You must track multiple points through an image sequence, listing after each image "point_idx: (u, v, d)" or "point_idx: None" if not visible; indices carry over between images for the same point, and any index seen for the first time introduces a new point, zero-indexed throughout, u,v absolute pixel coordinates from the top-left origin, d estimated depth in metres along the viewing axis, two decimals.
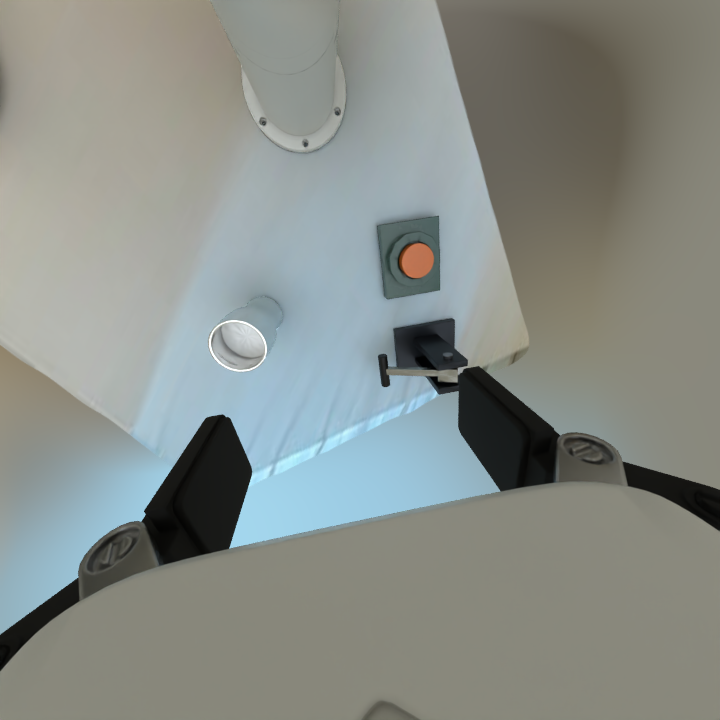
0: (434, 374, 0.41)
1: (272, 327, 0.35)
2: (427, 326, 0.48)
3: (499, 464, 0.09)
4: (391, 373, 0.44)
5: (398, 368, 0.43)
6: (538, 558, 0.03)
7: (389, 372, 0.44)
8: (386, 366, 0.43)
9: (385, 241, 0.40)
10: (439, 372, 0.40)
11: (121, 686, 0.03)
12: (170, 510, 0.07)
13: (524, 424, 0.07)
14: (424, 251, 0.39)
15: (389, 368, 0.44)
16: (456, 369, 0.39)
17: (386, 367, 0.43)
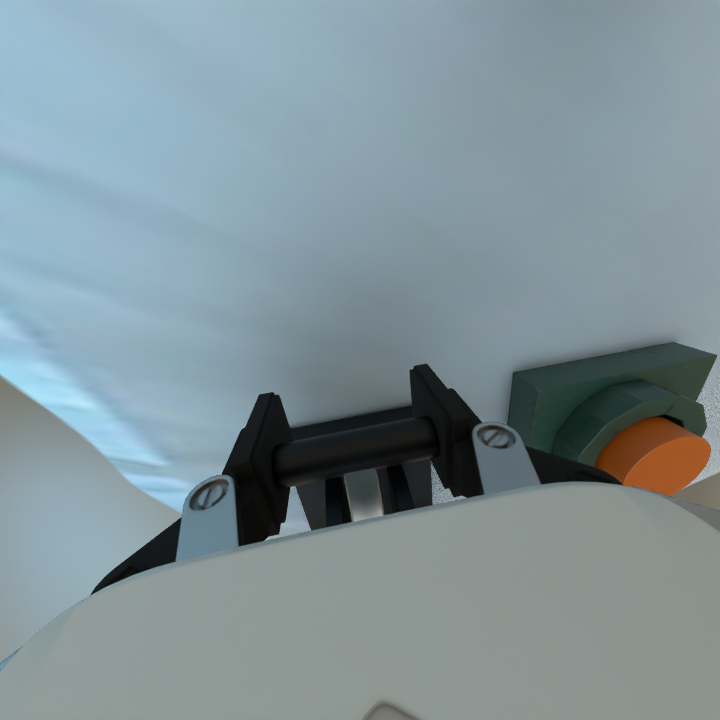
0: None
1: None
2: (427, 484, 0.19)
3: None
4: (357, 495, 0.09)
5: None
6: (538, 558, 0.03)
7: (361, 485, 0.09)
8: (388, 465, 0.09)
9: (677, 372, 0.16)
10: None
11: (121, 686, 0.03)
12: (250, 466, 0.08)
13: (448, 414, 0.08)
14: (680, 481, 0.15)
15: None
16: None
17: (383, 466, 0.09)
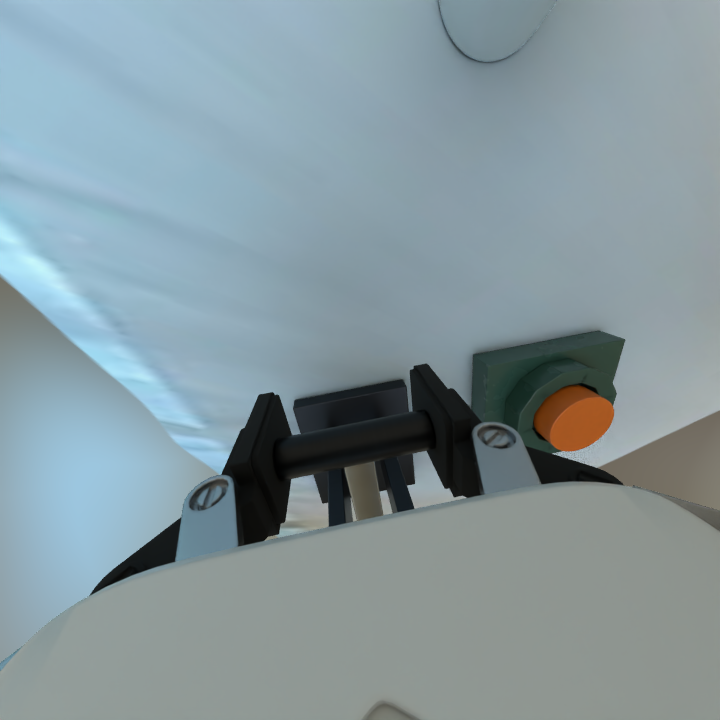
0: None
1: None
2: None
3: (436, 452, 0.09)
4: (356, 480, 0.10)
5: None
6: (538, 558, 0.03)
7: (360, 474, 0.10)
8: None
9: (595, 352, 0.21)
10: None
11: (121, 686, 0.03)
12: (249, 466, 0.08)
13: (448, 414, 0.08)
14: (594, 433, 0.20)
15: None
16: None
17: None
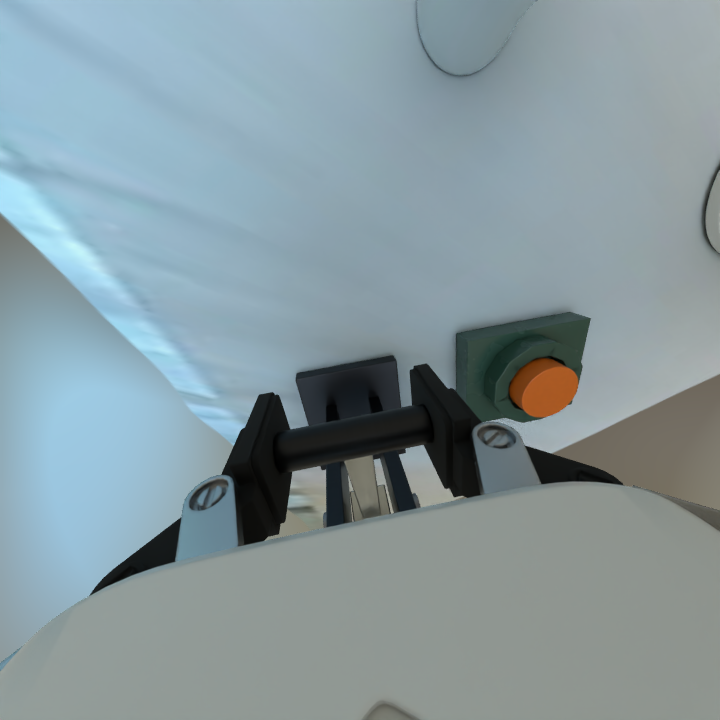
0: (368, 515, 0.15)
1: None
2: None
3: (436, 452, 0.09)
4: (354, 466, 0.10)
5: None
6: (538, 558, 0.03)
7: (358, 462, 0.10)
8: None
9: (564, 329, 0.23)
10: None
11: (121, 686, 0.03)
12: (249, 466, 0.08)
13: (448, 414, 0.08)
14: (562, 400, 0.22)
15: None
16: None
17: None
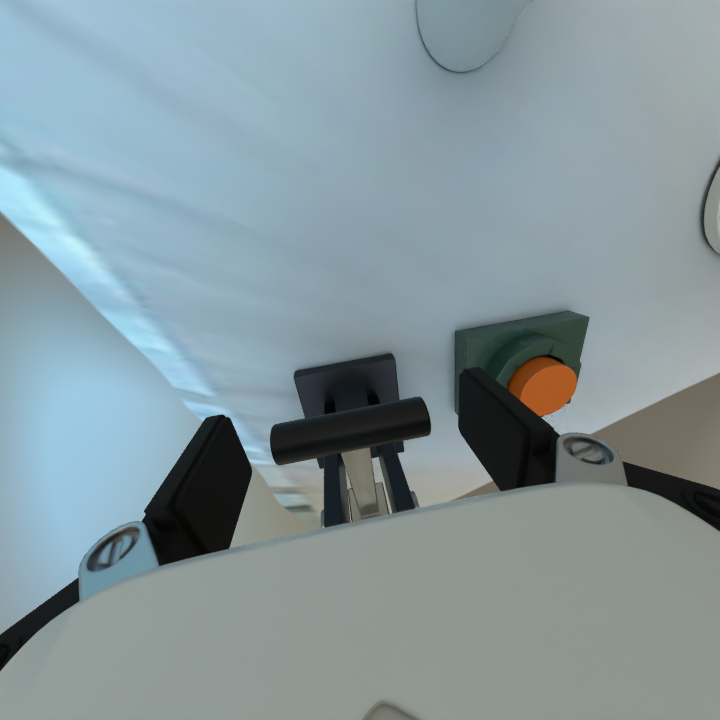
0: (366, 512, 0.15)
1: None
2: None
3: (499, 464, 0.09)
4: (351, 459, 0.10)
5: None
6: (538, 558, 0.03)
7: (355, 455, 0.10)
8: None
9: (563, 328, 0.23)
10: None
11: (121, 686, 0.03)
12: (170, 510, 0.07)
13: (524, 424, 0.07)
14: (560, 399, 0.22)
15: None
16: None
17: None
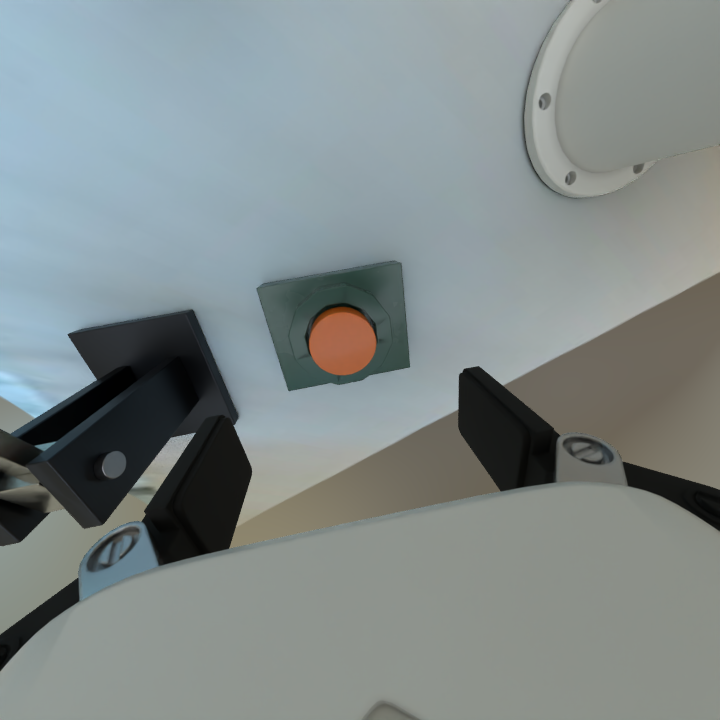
0: (8, 470, 0.12)
1: None
2: (211, 379, 0.23)
3: (499, 464, 0.09)
4: None
5: None
6: (538, 558, 0.03)
7: None
8: None
9: (372, 276, 0.20)
10: (31, 489, 0.12)
11: (121, 686, 0.03)
12: (170, 510, 0.07)
13: (524, 424, 0.07)
14: (361, 355, 0.20)
15: None
16: None
17: None
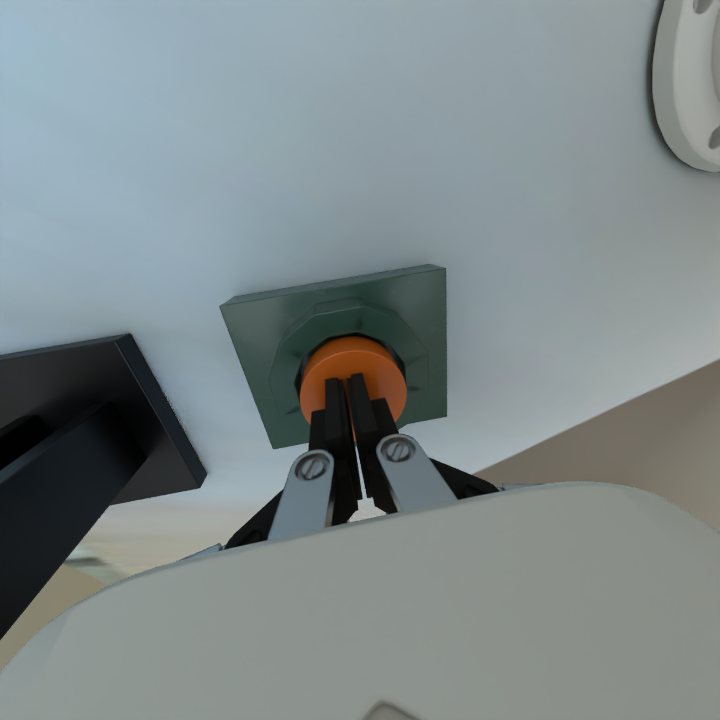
0: None
1: None
2: (162, 432, 0.16)
3: None
4: None
5: None
6: (538, 558, 0.03)
7: None
8: None
9: (401, 289, 0.13)
10: None
11: (121, 686, 0.03)
12: (342, 441, 0.08)
13: (359, 426, 0.08)
14: None
15: None
16: None
17: None
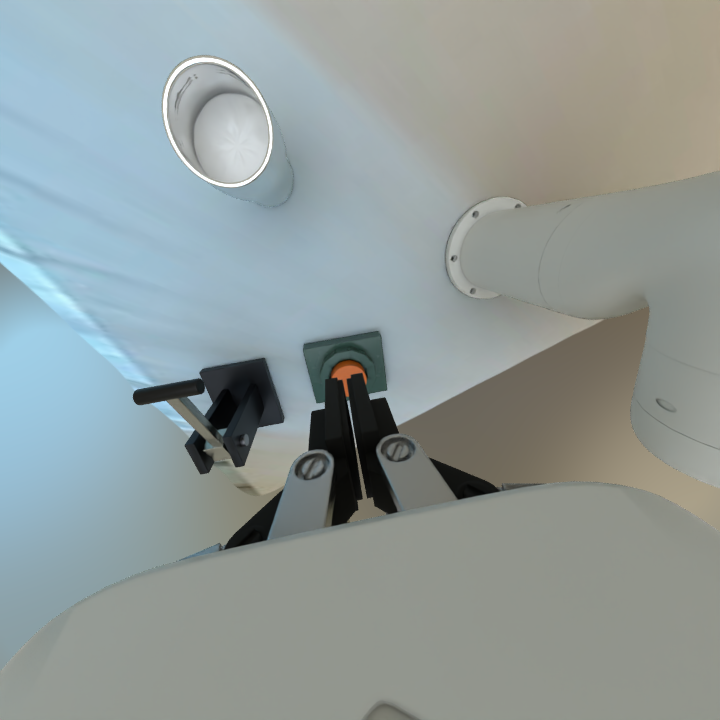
0: (210, 440, 0.30)
1: (258, 197, 0.22)
2: (272, 396, 0.41)
3: None
4: (174, 405, 0.25)
5: (190, 407, 0.26)
6: (538, 558, 0.03)
7: (174, 402, 0.25)
8: (183, 396, 0.24)
9: (365, 342, 0.38)
10: (219, 448, 0.30)
11: (121, 686, 0.03)
12: (342, 441, 0.08)
13: (359, 426, 0.08)
14: None
15: (181, 398, 0.25)
16: None
17: (181, 397, 0.24)
